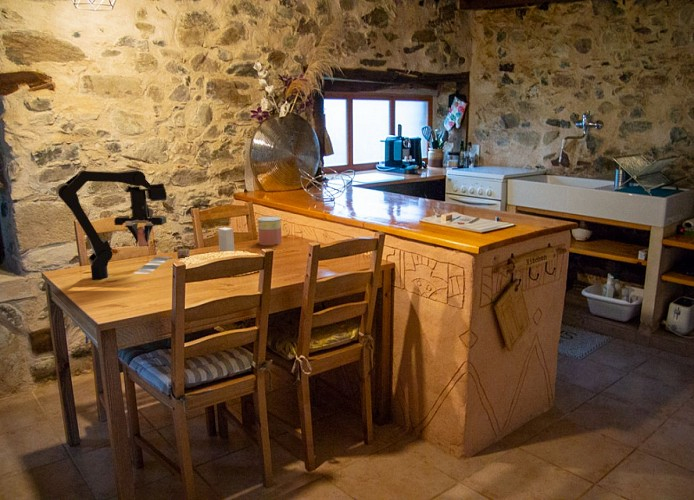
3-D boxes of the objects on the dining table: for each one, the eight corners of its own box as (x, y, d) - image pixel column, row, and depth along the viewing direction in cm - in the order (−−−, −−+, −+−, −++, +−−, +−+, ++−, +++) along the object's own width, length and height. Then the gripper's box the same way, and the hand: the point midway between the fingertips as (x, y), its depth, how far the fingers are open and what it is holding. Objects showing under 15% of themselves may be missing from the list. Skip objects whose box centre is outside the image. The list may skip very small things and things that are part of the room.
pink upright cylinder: (145, 246, 225) (143, 227, 223) (136, 246, 225) (135, 227, 223) (148, 244, 228) (146, 225, 226) (140, 244, 228) (138, 225, 226)
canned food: (261, 239, 287) (260, 216, 285) (284, 240, 286) (283, 216, 283) (256, 245, 277) (255, 220, 274) (279, 245, 275) (278, 220, 273)
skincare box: (235, 254, 258) (233, 228, 255) (227, 256, 255) (225, 230, 252) (227, 252, 262) (225, 227, 259) (219, 254, 259) (217, 228, 256)
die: (187, 259, 250) (186, 250, 249) (177, 259, 250) (177, 250, 249) (190, 257, 254) (189, 248, 253) (180, 257, 254) (180, 248, 253)
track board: (150, 276, 225) (150, 274, 224) (131, 276, 225) (130, 274, 224) (172, 259, 251) (172, 256, 250) (154, 259, 251) (154, 256, 251)
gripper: (169, 199, 230) (172, 237, 234) (123, 199, 231) (127, 237, 234) (159, 203, 219) (163, 243, 223) (111, 204, 220) (115, 243, 224)
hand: (142, 241), depth 226 cm, fingers closed on pink upright cylinder, 3 cm apart
